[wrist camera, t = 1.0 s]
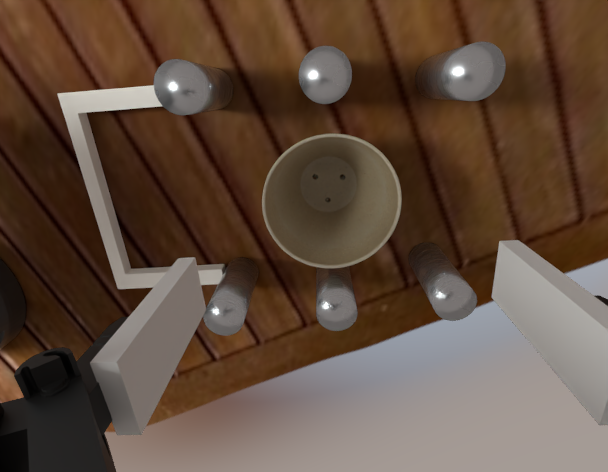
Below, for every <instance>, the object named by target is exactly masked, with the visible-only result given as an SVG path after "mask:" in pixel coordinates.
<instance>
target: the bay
mask: <svg viewBox="0 0 608 472" xmlns="http://www.w3.org/2000/svg"><path fill="white" fill-rule="evenodd" d="M58 98H59V101H60V104H61V107H62V110H63V114H64V117H65V120H66V123H67V127H68V130H69V133H70V136H71V140H72V143H73V146H74V149H75V152H76V156H77V159H78V162H79V165H80V169H81V172H82V175H83V178H84V181H85V185H86V188H87V191H88V194H89V198H90V201H91V204H92V207H93V211H94V214H95V217H96V220H97V223H98V227H99V230H100V233H101V236H102V240H103V243H104V246H105V249H106V253H107V256H108V259H109V262H110V265H111V269H112V272H113V275H114V278H115V282H116V285H117V288H118V289H133V288H153V287H154V286H155V285H156V284H157V283H158V282H159V281H160V279H161V278H162V277H163V276H164V275H165V273H166V272H167V271H168V270H169V269H170V268H171V267H156V268H137V269H131V266H130V263H129V259H128V256H127V252H126V249H125V245H124V242H123V238H122V235H121V231H120V228H119V225H118V221H117V218H116V214H115V211H114V207H113V204H112V200H111V197H110V193H109V190H108V186H107V183H106V179H105V176H104V172H103V169H102V165H101V162H100V158H99V155H98V151H97V148H96V144H95V141H94V137H93V134H92V130H91V127H90V123H89V120H88V116H87V112H99V111H111V110H124V109H136V108H148V107H161V106H162V104H161V103H160V102H159V100H158V98H157V96H156V94H155V90H154V85H152V86H141V87H129V88H117V89H105V90H93V91H81V92H70V93H58ZM197 268H198V273H199V278H200V282H201V285H212V284H219V282H220V280H221V278H222V276H223V274H224V272H225V270H226V269H225V264H212V265H197Z"/></svg>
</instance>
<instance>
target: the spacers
mask: <svg viewBox="0 0 608 472" xmlns="http://www.w3.org/2000/svg"><path fill="white" fill-rule="evenodd" d="M505 67H506V66H505V58H504V56H503V54H502V52H501V50H500V49H499V48H498V47H497V46H495V45H494V44H492V43H489V42H476V43H473V44H470V45H467V46H463V47H460V48H457V49H454V50H451V51H447V52H444V53H441V54H438V55H435V56H431V57H429V58H428V59H426V60H425V61H424V62H423V63H422V64H421V65H420V66H419V68H418V70H417V73H416V78H415V82H416V87H417V89H418V91H419V92H420V94H422V95H423V96H424V97H426V98H429V99H444V100H462V101H478V100H482V99H484V98H486V97H488V96H490V95H491V94H492V93H493V92H494V91H495V90H496V89H497V88H498V87H499V85H500V84H501V82H502V80H503V77H504V74H505ZM351 80H352V69H351V65H350V62H349V60H348V58H347V57H346V55H345V54H344V53H343V52H342V51H340V50H339V49H337V48H335V47H332V46H320V47H317V48H315V49H313V50H312V51H310V52H309V53H308V54H307V55H306V56H305V58H304V59H303V61H302V63H301V66H300V69H299V82H300V86H301V88H302V90H303V92H304V93H305V95H306V96H307V97H308V98H309V99H311V100H312V101H314V102H316V103H320V104H330V103H333V102H336V101H337V100H339V99H340V98H342V97H343V96H344V95H345V93H346V92H347V90H348V89H349V86H350V84H351ZM154 90H155V94H156V96H157V98H158V100H159V102H160V103H161V104H162V106H163V107H164V108H166V109H167V110H168V111H170V112H172V113H174V114H177V115H189V114H195V113H201V112H206V111H212V110H218V109H222V108H224V107H226V106H227V105H228V104H229V103H230V101H231V100H232V97H233V84H232V81H231V79H230V78H229V76H228V75H227V74H226V73H225V72H224V71H222V70H220V69H218V68H214V67H210V66H205V65H201V64H197V63H193V62H189V61H185V60H180V59H172V60H168V61H166V62H164V63H163V64H162V65H161V66H160V67H159V68H158V70H157V71H156V74H155V77H154ZM409 264H410V266H411V268H412V269H413V271H414V273H415V275H416V277H417V279H418V280H419V282H420V284H421V286H422V288H423V290H424V291H425V293H426V295H427V297H428V299H429V301H430V303H431V304H432V306H433V308H434V310H435V312H436V313H437V315H438V316H440V317H441V318H443V319H445V320H450V321H455V320H460V319H463V318H465V317H467V316H468V315H469V314H471V313H472V311H473V310H474V309H475V307H476V304H477V297H476V294H475V292H474V291H473V290H472V288H471V287H470V286H469V285H468V283H467V282H466V281H465V280H464V278H463V277H462V276H461V274H460V273H459V272H458V271H457V269H456V268H455V267H454V266H453V264H452V263H451V262H450V261H449V259H448V258H447V257H446V255H445V254H444V253H443V252H442V250H441V249H440V248H439V247H438V246H437V245H435V244H433V243H421V244H419V245H417V246H415V247H414V248H413V249H412V251H411V252H410V254H409ZM258 275H259V271H258V267H257V265H256V264H255V263H254V262H253V261H252V260H250V259H248V258H243V257H240V258H236V259H233V260H232V261H231V262H230V263H229V264H228V266H227V268H226V270H225V272H224V274H223V276H222V278H221V280H220V282H219V284H218V286H217V288H216V290H215V292H214V294H213V296H212V298H211V300H210V301H209V303H208V305H207V307H206V311H205V313H204V315H203V318H204V322H205V324H206V326H207V327H208V328H209V329H210V330H211V331H212V332H214V333H216V334H219V335H232V334H235V333H236V332H238V331H239V330H240V329H241V327H242V325H243V322H244V319H245V316H246V313H247V310H248V307H249V304H250V300H251V297H252V294H253V291H254V288H255V285H256V282H257V278H258ZM316 316H317V319H318V321H319V323H320V324H321V325H322V326H323V327H325V328H327V329H329V330H333V331H341V330H344V329H347V328H349V327H350V326H352V325H353V324H354V322H355V321H356V318H357V307H356V301H355V296H354V291H353V285H352V280H351V274H350V269H349V266H347V267H342V268H319V267H316Z"/></svg>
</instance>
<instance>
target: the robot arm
mask: <svg viewBox="0 0 608 472" xmlns="http://www.w3.org/2000/svg"><path fill="white" fill-rule="evenodd" d="M492 298H493V300H494V301H495V302H496V303H497V304H498V306H499V307H500V308H501V309H502V310H503V312H504V313H505V314H506V315H507V316H508V317H509V318H510V320H511V321H512V322H513V323H514V325H515V326H516V327H517V328H518V329H519V330H520V332H521V333H522V334H523V335H524V336H525V338H526V339H527V340H528V341H529V342H530V343H531V345H532V346H533V347H534V348H535V349H536V351H537V352H538V353H539V354H540V355H541V357H542V358H543V359H544V360H545V361H546V362H547V364H548V365H549V366H550V367H551V368H552V370H553V371H554V372H555V373H556V374H557V376H558V377H559V378H560V379H561V380H562V381H563V383H564V384H565V385H566V386H567V387H568V389H569V390H570V391H571V392H572V393H573V394H574V396H575V397H576V398H577V399H578V400H579V401H580V403H581V404H582V405H583V406H584V407H585V409H586V410H587V411H588V412H589V413H590V415H591V416H592V417H593V418H594V419H595V421H596V422H597V423H598V424H599V425H608V299H606V298H603V297H601V296H593V295H592V294H590V293H589V292H588V291H586V290H585V289H584V288H582V287H581V286H580V285H578V284H577V283H576V282H574V281H573V280H572V279H570V278H569V277H567V276H566V275H565V274H563V273H562V272H561V271H559V270H558V269H557V268H555V267H554V266H553V265H551V264H550V263H549V262H547V261H546V260H545V259H543V258H542V257H541V256H539V255H538V254H536V253H535V252H534V251H532V250H531V249H530V248H528V247H527V246H526V245H524V244H523V243H522V242H520V241H519V240H509V241H499V248H498V255H497V262H496V269H495V276H494V284H493V291H492ZM205 311H206V306H205V302H204V297H203V292H202V287H201V282H200V278H199V273H198V268H197V263H196V259H195V257H191V258H178V259H177V260H176V262H175V263H174V264H173V265H172V266H171V268H170V269H169V270H168V271H167V272H166V273H165V275H164V276H163V277H162V278H161V279H160V281H159V282H158V283H157V284H156V285H155V286H154V288H153V289H152V290H151V291H150V292H149V294H148V295H147V296H146V297H145V298H144V299H143V301H142V302H141V303H140V304H139V305H138V307H137V308H136V309H135V310H134V311H133V312H132V314H131V315H130V316H129V317H121V318H120V319H118V320H117V321H115V322H114V323H112V324H111V325H109V326H108V327H107V328H106V330H105V331H104V332H103V333H102V334H101V335H100V337H99V338H97V340H96V341H95V342H94V343H93V346H90V347H89V348H88V350H87V351H86V352H85V353H84V354H83V355H82V356H81V357H80V358H79V360H78V361H77V362H76V360H75V358H74V355H73V353H72V351H71V350H70V349H68V348H63V347H62V348H53V349H50V350H47V351H43V352H41V353H39V354H37V355H35V356H33V357H31V358H30V359H28V360H27V361H25V362H24V363H22V365H21V366H20V367H19V368H18V369H17V370H16V372H15V375H14V377H15V379H16V381H17V383H18V385H19V387H20V389H21V391H22V393H23V395H24V398H20V399H16V400H12V401H8V402H4V403H0V472H116V469H115V466H114V462H113V459H112V455H111V452H110V449H109V445H108V442H107V439H106V437H105V434H104V432H105V431H106V429H107V428H108V426H109V425H110V423H111V421H112V423H113V426H114V429H115V431H116V434H117V435H142V433H143V431H144V429H145V427H146V425H147V423H148V421H149V419H150V417H151V416H152V414H153V412H154V410H155V408H156V406H157V404H158V402H159V400H160V398H161V396H162V394H163V392H164V390H165V389H166V387H167V385H168V383H169V381H170V379H171V377H172V375H173V373H174V371H175V369H176V367H177V365H178V363H179V361H180V360H181V358H182V356H183V354H184V352H185V350H186V348H187V346H188V344H189V342H190V340H191V338H192V336H193V334H194V333H195V331H196V329H197V327H198V325H199V323H200V321H201V319H202V317H203V315H204V313H205ZM25 317H26V305H25V299H24V295H23V292H22V290H21V287H20V285H19V283H18V281H17V280H16V278H15V276H14V275H13V273H12V272H11V271H10V269H9V268H8V267H7V266H6V265H5V263H4V262H3V261H2V260H1V259H0V350H1V349H2V348H3V347H4V346H5V345H7V344H8V343H9V342H10V341H12V340H13V339H14V338H15V337H16V336H17V335H18V334H19V332H20V331H21V329H22V327H23V325H24V322H25Z"/></svg>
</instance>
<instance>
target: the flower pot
mask: <svg viewBox="0 0 608 472" xmlns="http://www.w3.org/2000/svg"><path fill="white" fill-rule="evenodd" d="M341 175H343V176H342V177H340V176H341ZM313 177H316V179H314V178H313ZM329 198H330V201H329V200H328V199H329ZM401 204H402V195H401V187H400V183H399V179H398V177H397V174H396V172H395V170H394V168H393V166H392V165H391V163H390V162H389V160H388V159H387V158H386V157H385V156H384V155H383V153H382V152H381V151H379V150H378V149H377V148H376V147H374V146H373V145H371V144H370V143H368V142H366V141H364V140H362V139H360V138H357V137H354V136H350V135H345V134H334V133H333V134H322V135H317V136H313V137H309V138H307V139H304V140H302V141H300V142H298V143H297V144H295V145H293V146H292V147H290V148H289V149H288V150H287V151H285V152H284V153H283V154H282V155H281V156H280V157H279V158H278V160H277V161H276V162H275V163H274V165H273V166H272V168H271V170H270V172H269V174H268V176H267V178H266V181H265V184H264V188H263V194H262V210H263V216H264V220H265V223H266V226H267V228H268V231H269V233H270V234H271V236H272V237H273V239H274V240H275V242H276V243H277V244H278V245H279V247H280V248H281V249H282V250H283V251H285V252H286V253H287V254H288V255H290V256H291V257H293V258H294V259H296V260H298V261H300V262H302V263H304V264H307V265H310V266H314V267H319V268H342V267H347V266H351V265H354V264H357V263H359V262H361V261H363V260H365V259H367V258H369V257H370V256H372V255H373V254H374V253H376V252H377V251H378V250H379V249H380V248H381V247H382V246H383V245H384V244H385V243H386V242H387V240H388V239H389V238H390V236H391V235H392V233H393V231H394V230H395V227H396V225H397V223H398V220H399V216H400V212H401Z"/></svg>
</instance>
